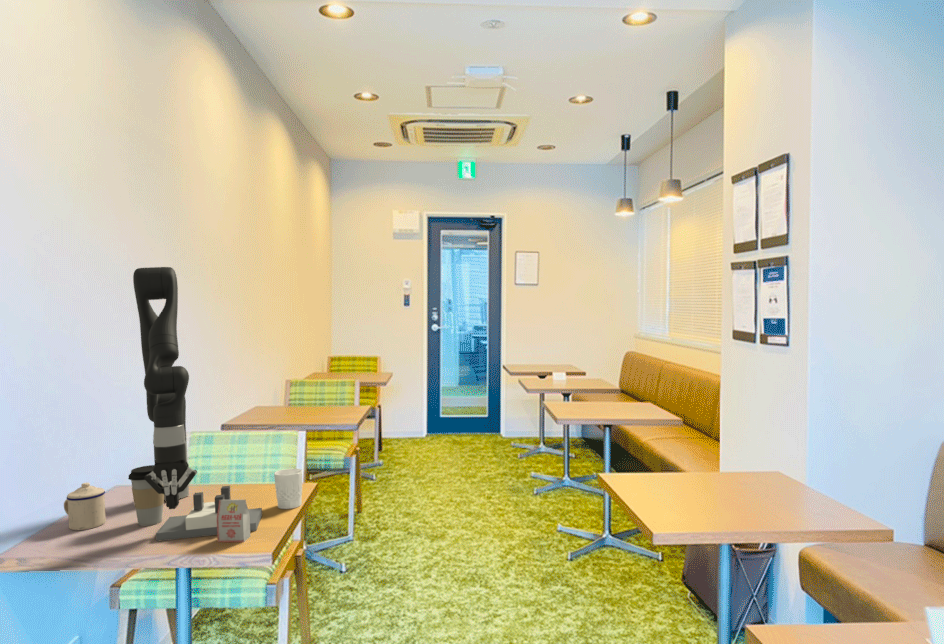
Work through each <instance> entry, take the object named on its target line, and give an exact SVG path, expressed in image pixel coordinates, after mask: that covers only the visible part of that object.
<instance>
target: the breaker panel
mask: <svg viewBox="0 0 944 644" xmlns="http://www.w3.org/2000/svg"><path fill="white" fill-rule="evenodd" d="M231 497H232V496H231V485H224V486H221V487H220V494H216V495H215V497H214V501H207V502H204V508H203V509H202V510H194V507H193V508H192V509H191V510H190V512H189V513H188V514H187V515H186V514H185V515H176V516H169V517H168V518H167V519H166V521H164V523H163V524H162V525H161V527H159V529H158V530H157V531H156V533H155V539H156V542H160V541H159V540H163V541H170V539H172V540H180V539H179V538H182V539H191V538H200V537H209V536H216V535H217V513H218V507H219V500H232V498H231ZM248 511H249V515H250V532H256V531H257V529H258V527H259V524H260V522H261V519H262V517H263V507H258V508H257V507H256V508H248Z"/></svg>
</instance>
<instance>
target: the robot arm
mask: <svg viewBox="0 0 944 644" xmlns="http://www.w3.org/2000/svg"><path fill="white" fill-rule="evenodd" d="M132 275H133V276H132V279H133V280H132V281H133V289H134V295H135V301H136V306H137V313H138V318H139V319H138V320H139V328H140V329H139V330H140V345H141V354H142V355H141V356H142V361H143V362H142V363H143V369H144V374H145V375H144V381H143V387H144V389H145V390H146V391H145V392H146V393H145V394H146V411H147V417H148V419H149V421H150V422H153V435H152V436H153V438H152V441H153V442H152V443H153V455H154V456H153V458H154V461H153V462H154V464H153V465H154V467H153V471H152V472H151V473H150V474H148V475H146V476H145V478H144V479H145V480H146V481H147V482H148V483H149V484H150V485H151V487H152V488H153V489H154V490H155V491H156V492H157V493H158V494H164V500H165V501H164V502H165V506H166V508H168V510H175V509H177V508H178V506H179V504H180V498H181V499H184V498H186V497H188V496H189V495H190V488H189V487H190V486H189V484H191V482H192V480H193V479H194V477H196V475H197V474H198V471H197V469H192V468H190V464H189V462H188V448H187V447H188V445H187V443H188V442H187V427H186V426H187V425H186V423H187V422H186V417H187V416H186V415H187V414H186V413H187V411H186V407H187V403H186V393H187V389H188V386H189V380H190V375H189V371H188V370H187V369H186V367H185V366H181V365H176V366H175V365H174V364H175V362H177V360H178V359H179V354H180V352H179V342H178V330H177V322H178V303H179V302H178V301H179V300H178V298H179V296H178V295H179V292H178V291H179V289H178V288H179V286H178V285H179V284H178V278H177V277H178V276H177V274H176V271H175V270H174V268H173V267H169V266H154V267H151V266H150V267H140V268H139V267H137V268H136V269H135V270H134V272H133V274H132ZM154 300H155V301H156V300H159V301H160V300H165V303H164V306H163V308H162V310H161V312H159V315H158V314H156V312H155V311H154V309H153V307H152V306H151V302H150V301H154ZM155 474H156V475H157V476H158V478H159V479H160V480H161V481H163V486H162V485H161V484H160V483H159V482H158V481H157V480H156V475H155Z"/></svg>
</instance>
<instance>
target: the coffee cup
mask: <svg viewBox="0 0 944 644" xmlns="http://www.w3.org/2000/svg"><path fill="white" fill-rule="evenodd" d="M154 465H155V464H152V465H143V466H139V467H135V468H133V469H131V470H130V473H129V474H128V478H127V479H128V480H130V481H131V492H132V497H133V503H134V505H133V506H134V508H135V514H136V518H137V525H138V526H140V527H147V526H148V527H149V526H150V527H151V526H153V525H156V524H157V523H158V524H160V523H162V521H163V509H164V503H165V501H164V494H158V493H157V492H156V491H155V490H154V489H153V488H152V487H151V485H150V484H149V483H148V482H147V481H146V480H145V479H144V478H145V476H146V475H148V474H150V473H151V472H152V471H153V467H154ZM155 475H156V474H155ZM156 480H157V481H158V482H159V483H160V484H161V485H162V486H163V481H161V480H160V479H159V478H158V476H157V475H156Z"/></svg>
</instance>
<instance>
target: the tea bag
mask: <svg viewBox="0 0 944 644" xmlns="http://www.w3.org/2000/svg"><path fill="white" fill-rule="evenodd" d="M248 509H249V508H248V504H247V500H246V499H231V500H219V507H218V513H217V543H245V542H246V541H247V540H248V539H250V538H251V531H250V515H249V511H248Z"/></svg>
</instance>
